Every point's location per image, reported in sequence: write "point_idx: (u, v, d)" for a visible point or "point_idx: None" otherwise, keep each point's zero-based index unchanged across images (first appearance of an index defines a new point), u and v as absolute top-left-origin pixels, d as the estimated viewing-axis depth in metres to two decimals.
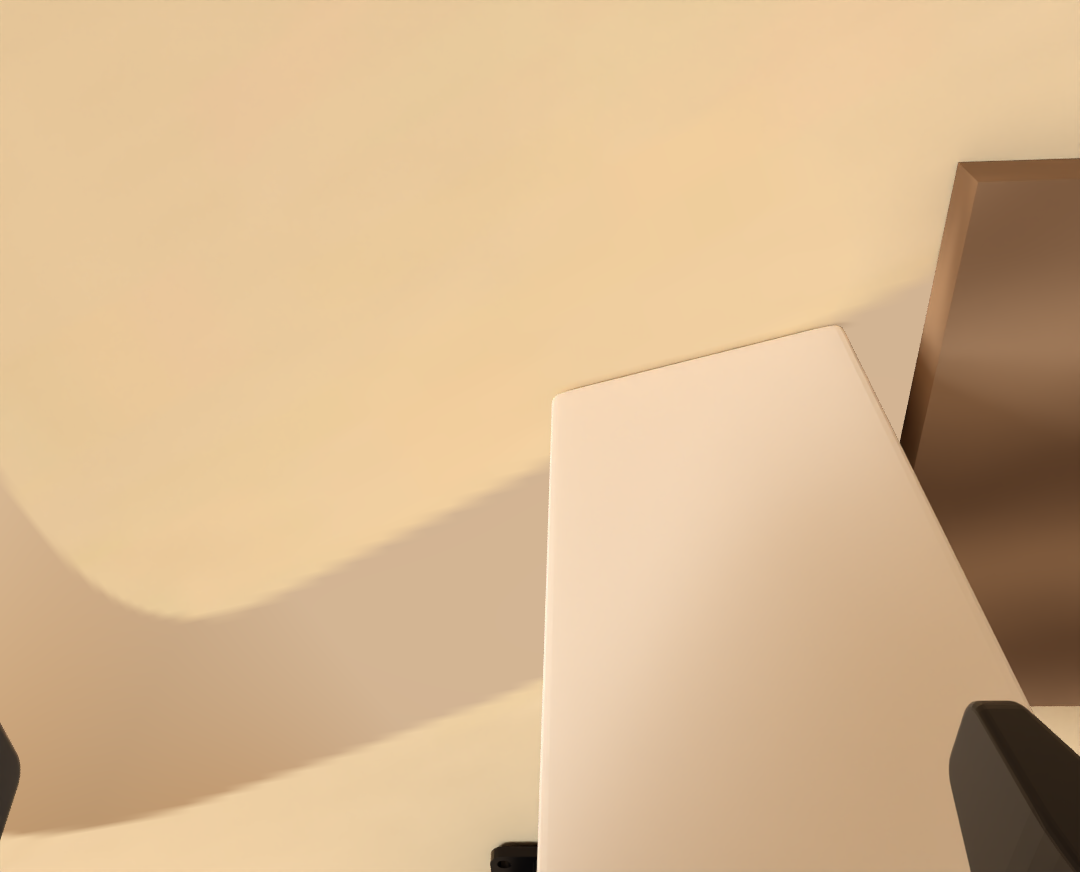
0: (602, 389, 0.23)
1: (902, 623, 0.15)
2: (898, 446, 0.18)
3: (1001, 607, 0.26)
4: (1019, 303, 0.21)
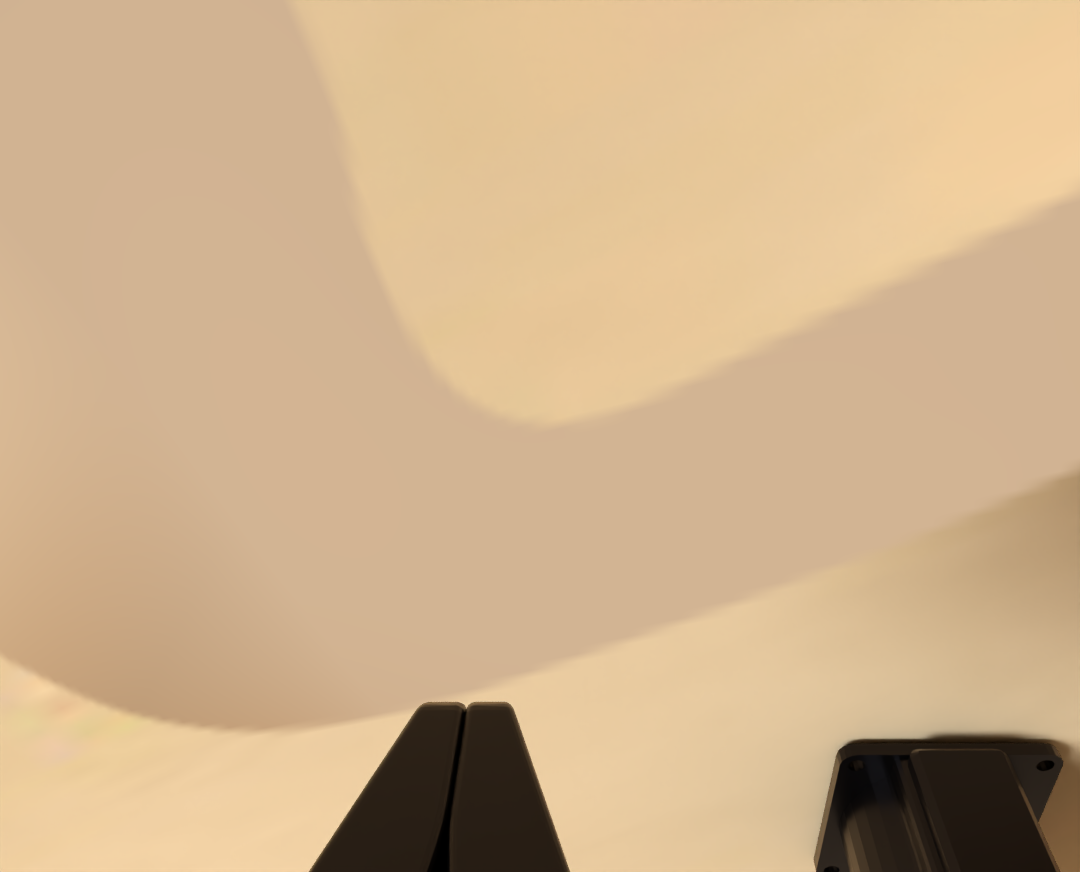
0: None
1: None
2: None
3: None
4: None
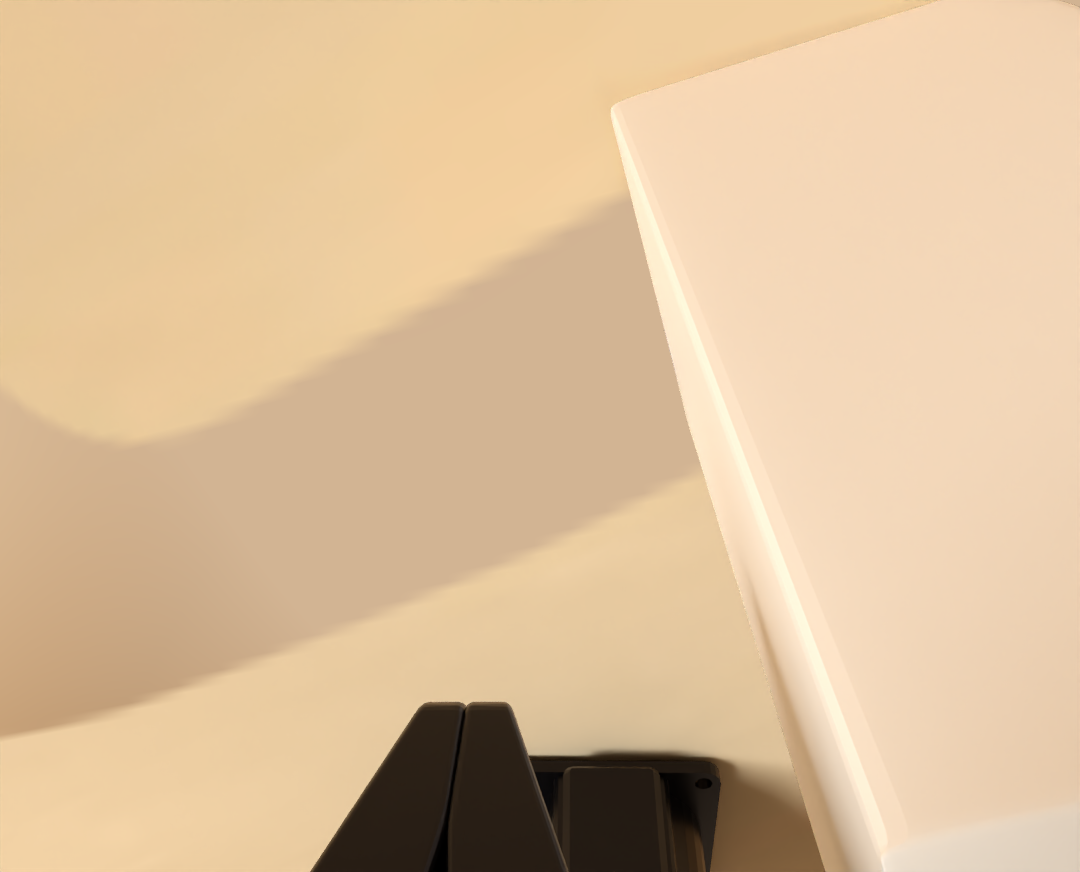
0: (681, 86, 0.17)
1: None
2: None
3: None
4: None
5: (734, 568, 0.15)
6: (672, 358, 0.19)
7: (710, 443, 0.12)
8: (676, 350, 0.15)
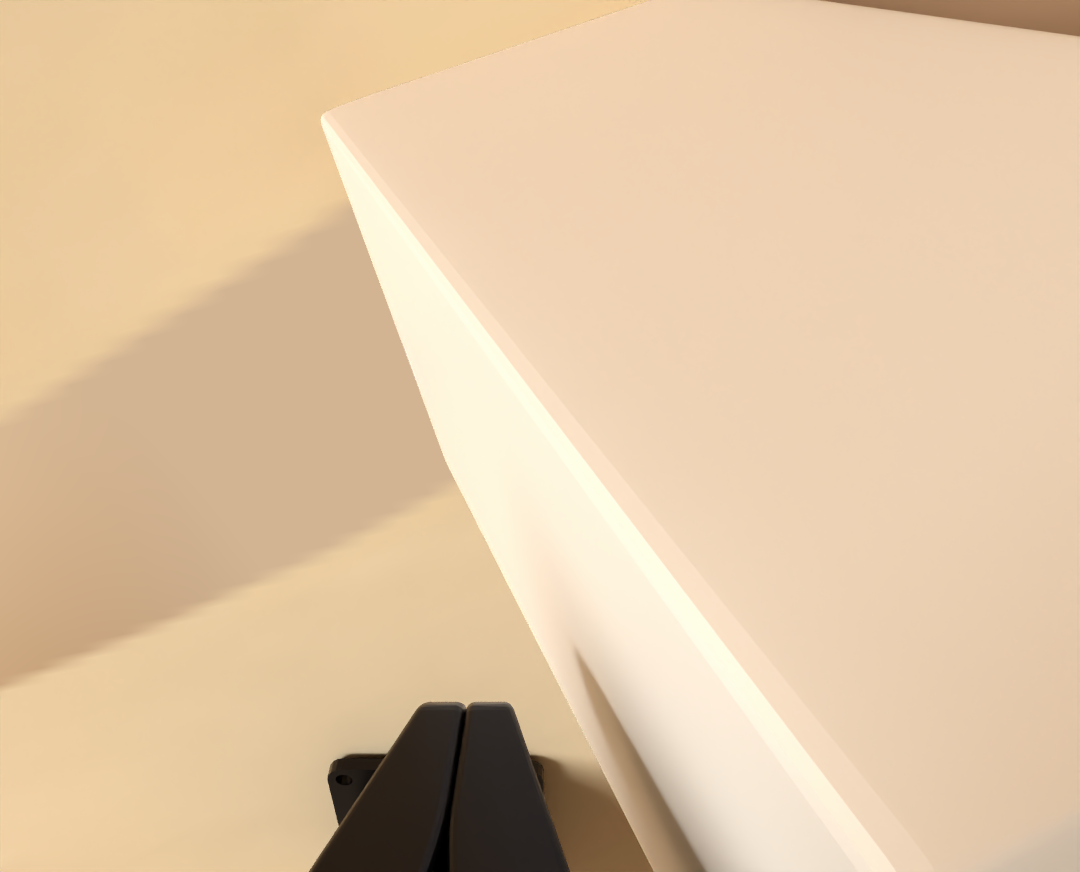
0: (397, 90, 0.15)
1: (1078, 86, 0.09)
2: (882, 9, 0.12)
3: None
4: None
5: (525, 607, 0.14)
6: (422, 392, 0.17)
7: (490, 455, 0.10)
8: (429, 371, 0.14)
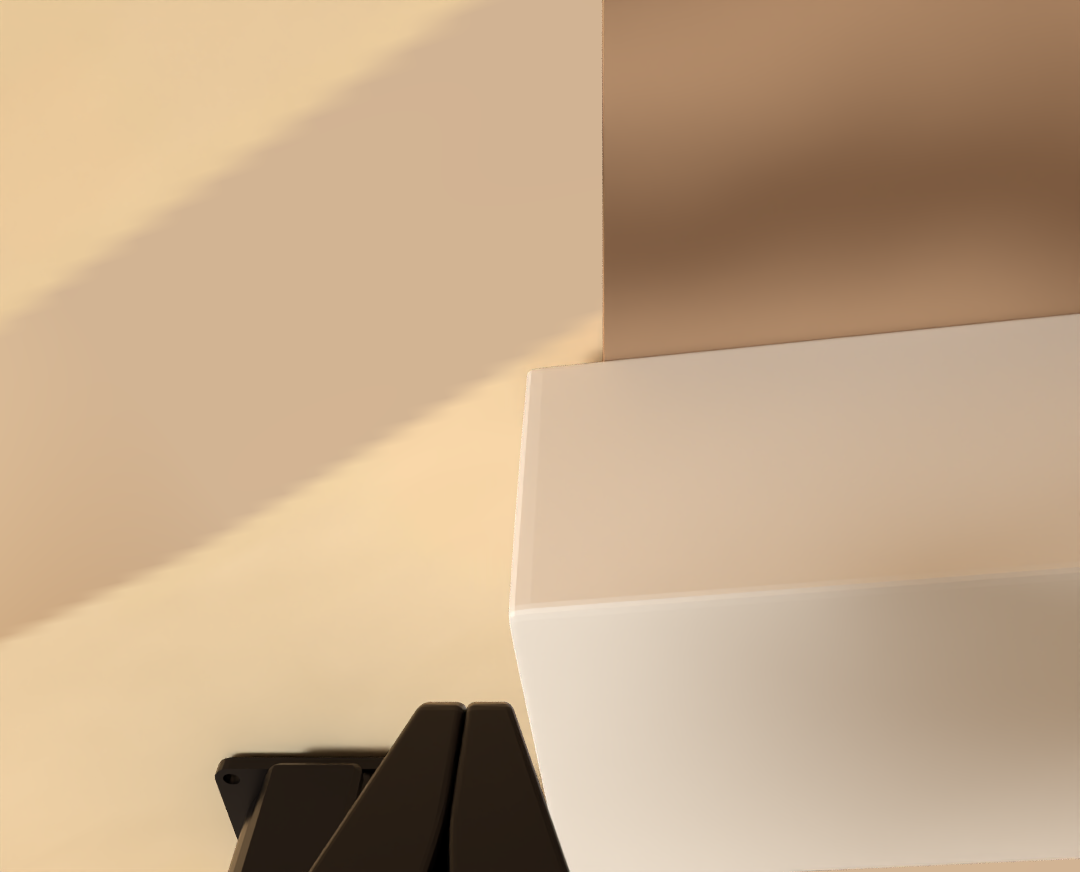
0: (576, 844, 0.17)
1: None
2: (856, 589, 0.13)
3: None
4: None
5: None
6: None
7: None
8: None
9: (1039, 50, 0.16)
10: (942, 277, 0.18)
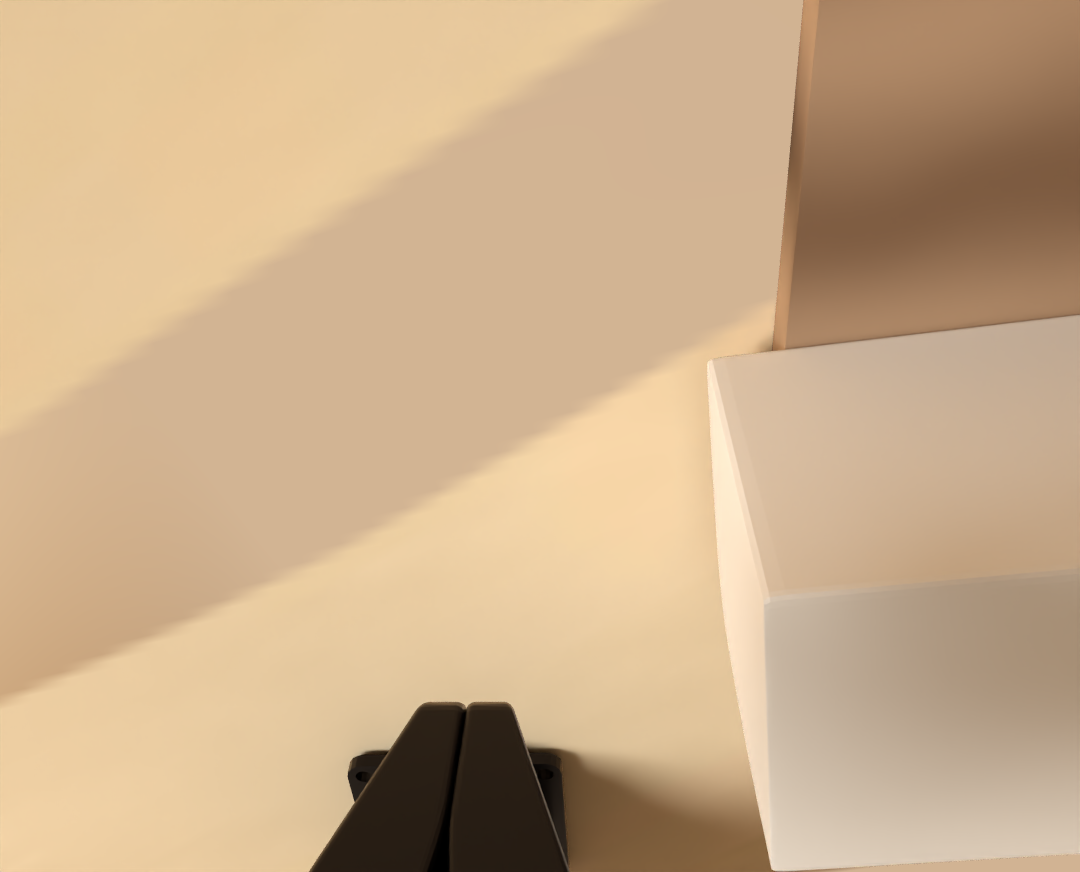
0: (791, 833, 0.17)
1: None
2: None
3: None
4: None
5: None
6: None
7: None
8: None
9: None
10: None
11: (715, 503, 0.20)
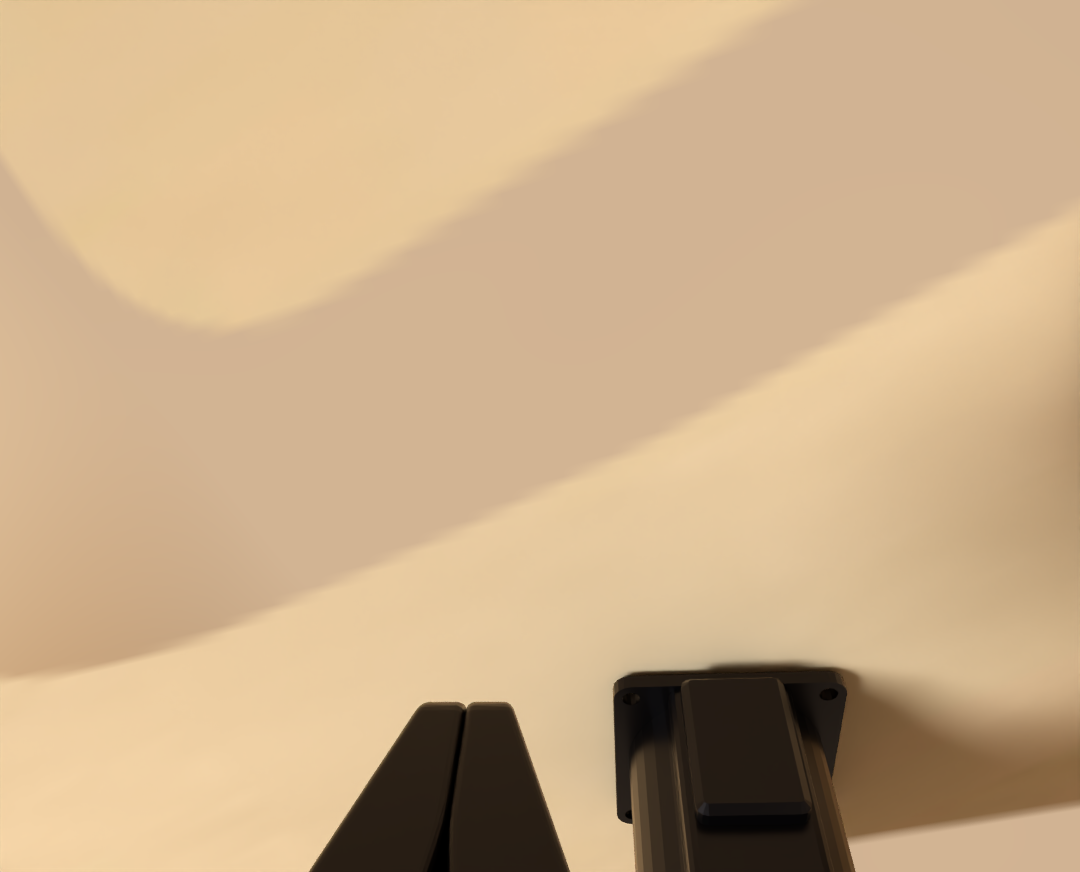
0: None
1: None
2: None
3: None
4: None
5: None
6: None
7: None
8: None
9: None
10: None
11: None
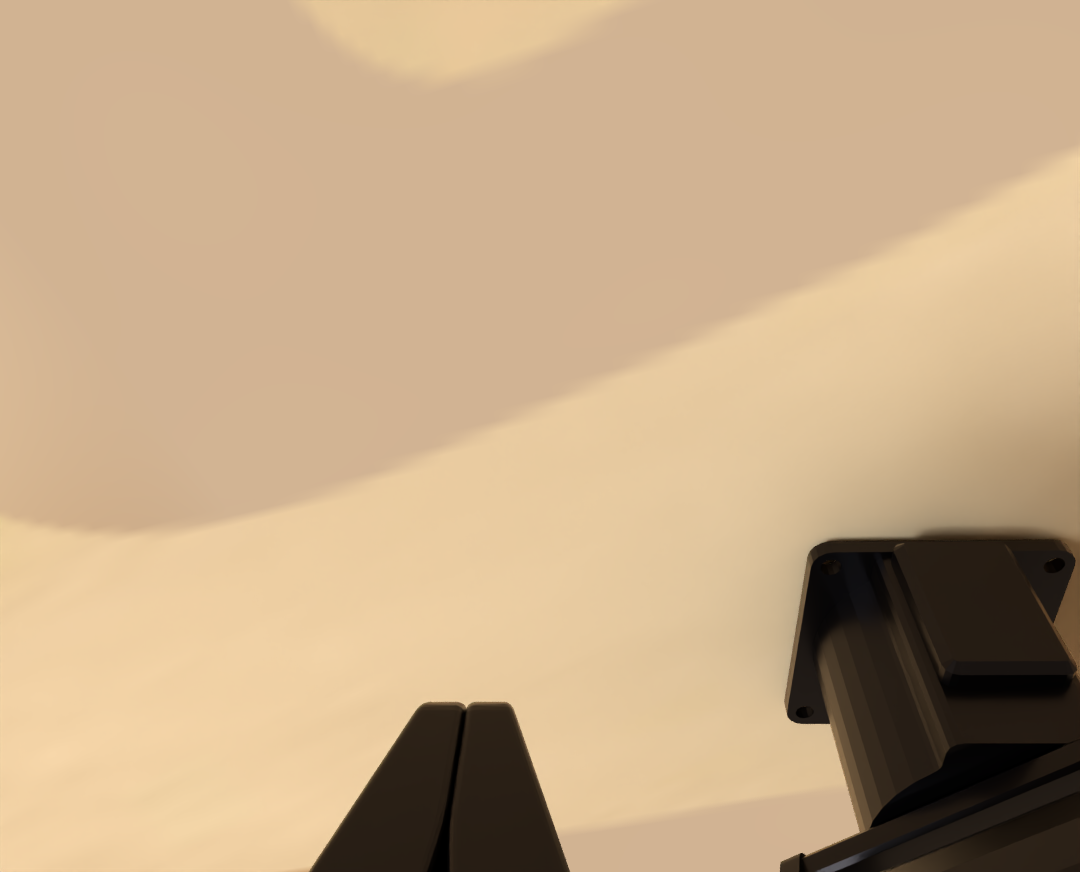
0: None
1: None
2: None
3: None
4: None
5: None
6: None
7: None
8: None
9: None
10: None
11: None
